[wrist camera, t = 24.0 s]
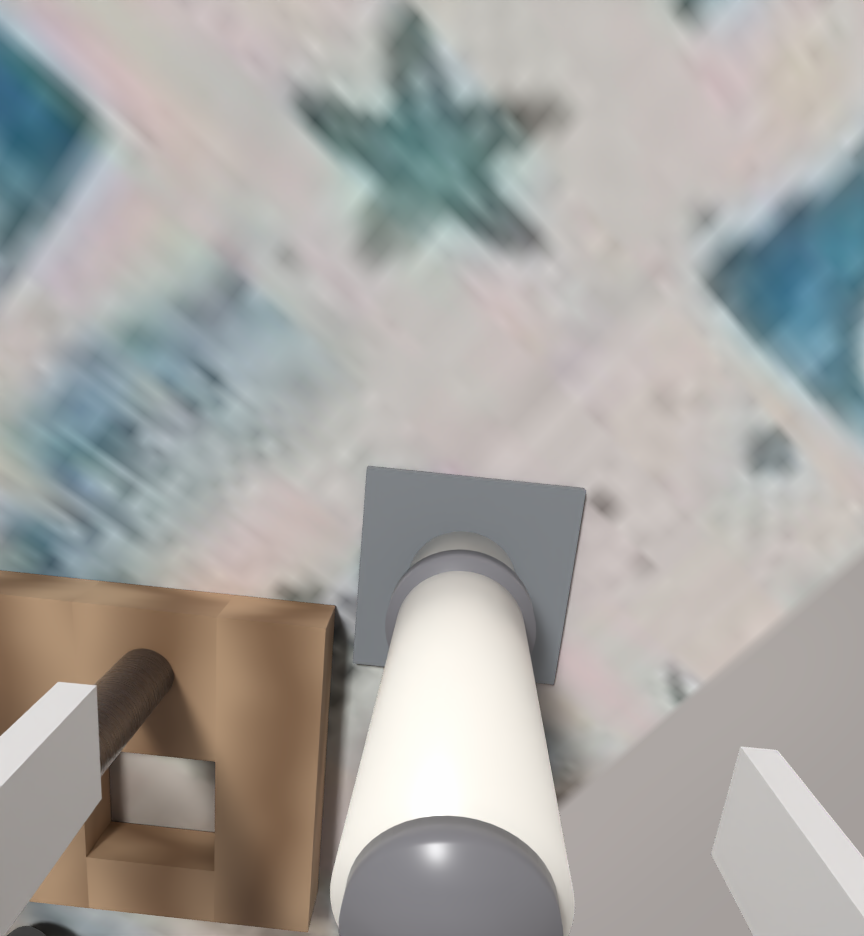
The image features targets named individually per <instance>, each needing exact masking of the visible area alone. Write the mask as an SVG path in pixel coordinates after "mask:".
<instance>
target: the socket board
mask: <svg viewBox="0 0 864 936" xmlns="http://www.w3.org/2000/svg"><path fill="white" fill-rule="evenodd" d="M334 620H335V606H334V605H324V604H315V603H305V602H296V601H286V600H277V599H267V598H258V597H248V596H239V595H229V594H220V593H210V592H201V591H191V590H182V589H172V588H162V587H153V586H143V585H134V584H124V583H115V582H105V581H96V580H86V579H77V578H67V577H58V576H48V575H39V574H29V573H20V572H10V571H1V570H0V736H1V735H2V734H3V733H4V732H5V731H6V730H7V729H9V728H10V727H11V726H12V725H13V724H14V723H15V722H16V721H17V720H18V719H19V718H20V717H21V716H22V715H23V714H24V713H26V712H27V711H28V710H29V709H30V708H31V707H32V706H33V705H34V704H35V703H36V702H37V701H38V700H39V699H40V698H41V697H43V696H44V695H45V694H46V693H47V692H48V691H49V690H50V689H51V688H52V687H53V686H54V685H55V684H56V683H57V682H66V683H76V684H87V685H94V684H95V683H96V682H97V681H98V680H99V679H100V678H101V677H102V676H103V675H104V674H105V673H106V672H107V671H108V670H109V669H110V668H111V667H112V666H113V665H114V664H115V663H116V662H117V661H118V660H120V659H121V658H122V657H123V656H124V655H125V654H126V653H127V652H129V651H131V650H134V649H140V648H144V649H150V650H153V651H156V652H158V653H159V654H161V655H162V656H163V657H165V658H166V659H167V661H168V662H169V663H170V665H171V667H172V670H173V673H174V681H173V684H172V687H171V688H170V690H169V691H168V692H167V694H166V695H165V696H164V697H163V699H162V700H161V701H160V703H159V704H158V705H157V706H156V708H155V709H154V710H153V711H152V713H151V714H150V715H149V717H148V718H147V719H146V720H145V722H144V723H143V724H142V725H141V727H140V728H139V729H138V730H137V732H136V733H135V734H134V736H133V737H132V738H131V739H130V741H129V742H128V743H127V744H126V746H125V747H124V748H123V750H122V751H121V752H130V753H140V754H149V755H158V756H168V757H177V758H186V759H195V760H205V761H214V762H215V833H214V832H205V831H195V830H186V829H177V828H168V827H159V826H150V825H141V824H131V823H122V822H113V821H111V804H110V781H109V767H108V769H107V770H106V771H105V772H104V774H103V775H102V776H101V795H102V799H101V800H100V802H99V803H98V804H97V806H96V807H95V809H94V810H93V812H92V813H91V814H90V816H89V817H88V819H87V820H86V821H85V823H84V824H83V826H82V827H81V828H80V830H79V831H78V833H77V834H76V836H75V837H74V838H73V840H72V841H71V843H70V844H69V845H68V847H67V848H66V850H65V851H64V852H63V854H62V855H61V857H60V858H59V860H58V861H57V862H56V864H55V865H54V867H53V868H52V869H51V871H50V872H49V874H48V875H47V876H46V878H45V879H44V881H43V882H42V884H41V885H40V886H39V888H38V889H37V891H36V892H35V893H34V895H33V896H32V898H31V899H30V900H29V901H30V902H39V903H48V904H57V905H66V906H75V907H84V908H93V909H102V910H111V911H120V912H129V913H138V914H147V915H156V916H165V917H174V918H183V919H192V920H201V921H210V922H219V923H228V924H237V925H246V926H255V927H264V928H273V929H282V930H291V931H300V932H308V930H309V925H310V921H311V917H312V913H313V909H314V904H315V900H316V896H317V892H318V876H319V860H320V844H321V828H322V812H323V796H324V780H325V764H326V748H327V732H328V716H329V700H330V684H331V668H332V652H333V636H334Z"/></svg>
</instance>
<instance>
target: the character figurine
mask: <svg viewBox="0 0 864 936" xmlns="http://www.w3.org/2000/svg"><path fill="white" fill-rule="evenodd" d="M7 936H46V935H45V934H44V933H42V932H41V931H40V930H38V929H36V928H34V927H30V926H22V927H19V928H17V929H15V930H14V931H12V932H11V933H10V934H8V935H7Z"/></svg>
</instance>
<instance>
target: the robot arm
mask: <svg viewBox="0 0 864 936" xmlns="http://www.w3.org/2000/svg"><path fill="white" fill-rule="evenodd" d="M101 799H102V795H101V773H100V751H99V729H98V707H97V685H87V684H76V683H66V682H57V683H56V684H55V685H54V686H53V687H52V688H51V689H50V690H49V691H48V692H47V693H46V694H45V695H44V696H43V697H41V698H40V699H39V700H38V701H37V702H36V703H35V704H34V705H33V706H32V707H31V708H30V709H29V710H28V711H27V712H26V713H24V714H23V715H22V716H21V717H20V718H19V719H18V720H17V721H16V722H15V723H14V724H13V725H12V726H11V727H10V728H9V729H7V730H6V731H5V732H4V733H3V734H2V735H1V736H0V936H5V934H6V933H7V932H8V930H9V929H10V927H11V926H12V924H13V923H14V922H15V920H16V919H17V917H18V916H19V915H20V913H21V912H22V910H23V909H24V908H25V906H26V905H27V903H28V902H29V900H30V899H31V898H32V896H33V895H34V893H35V892H36V891H37V889H38V888H39V886H40V885H41V884H42V882H43V881H44V879H45V878H46V876H47V875H48V874H49V872H50V871H51V869H52V868H53V867H54V865H55V864H56V862H57V861H58V860H59V858H60V857H61V855H62V854H63V852H64V851H65V850H66V848H67V847H68V845H69V844H70V843H71V841H72V840H73V838H74V837H75V836H76V834H77V833H78V831H79V830H80V828H81V827H82V826H83V824H84V823H85V821H86V820H87V819H88V817H89V816H90V814H91V813H92V812H93V810H94V809H95V807H96V806H97V804H98V803H99V802H100V800H101ZM711 856H712V857H713V860H714V862H715V864H716V865H717V867H718V869H719V871H720V873H721V875H722V877H723V879H724V881H725V883H726V884H727V887H728V889H729V890H730V892H731V894H732V896H733V898H734V900H735V902H736V904H737V906H738V908H739V910H740V912H741V914H742V916H743V918H744V920H745V921H746V923H747V925H748V927H749V929H750V931H751V933H752V935H753V936H864V858H863V856H862V855H861V854H860V852H859V851H858V850H857V849H856V848H855V846H854V845H853V844H852V842H851V841H850V840H849V839H848V838H847V836H846V835H845V834H844V833H843V831H842V830H841V829H840V827H839V826H838V825H837V824H836V823H835V821H833V819H832V818H831V816H830V815H829V814H828V813H827V811H826V810H825V809H824V808H823V806H822V805H821V804H820V803H819V801H818V800H817V799H816V798H815V797H814V795H813V794H812V793H811V791H810V790H809V789H808V788H807V787H806V785H805V784H804V783H803V781H802V780H801V779H800V778H799V776H798V775H797V774H796V773H795V771H794V770H793V769H792V768H791V766H790V765H789V764H788V763H787V761H786V760H785V759H784V758H783V756H782V755H781V754H780V753H779V751H778V750H771V749H760V748H749V747H740V751H739V755H738V758H737V761H736V765H735V769H734V772H733V776H732V780H731V783H730V787H729V791H728V794H727V798H726V802H725V805H724V808H723V812H722V816H721V819H720V823H719V827H718V830H717V834H716V837H715V841H714V845H713V849H712V852H711Z"/></svg>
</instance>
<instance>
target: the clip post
mask: <svg viewBox="0 0 864 936" xmlns="http://www.w3.org/2000/svg"><path fill="white" fill-rule="evenodd" d="M173 681H174V673H173V670H172V667H171V665H170V663H169V662H168V661H167V659H166V658H165V657H163V656H162V655H161V654H159V653H158V652H156V651H153V650H150V649H144V648H140V649H134V650H131V651H129V652H127V653H126V654H125V655H124V656H123V657H122V658H121V659H120V660H118V661H117V662H116V663H115V664H114V665H113V666H112V667H111V668H110V669H109V670H108V671H107V672H106V673H105V674H104V675H103V676H102V677H101V678H100V679H99V680H98V681H97V682H96V683H95V684H94V685H97V707H98V729H99V751H100V773H101V776H102V775H103V774H104V772H105V771H106V770H107V769H108V767H109V766H110V765H111V763H112V762H113V761H114V760H115V758H116V757H117V756H118V755H119V753H120V752H121V751H122V750H123V748H124V747H125V746H126V744H127V743H128V742H129V741H130V739H131V738H132V737H133V736H134V734H135V733H136V732H137V730H138V729H139V728H140V727H141V725H142V724H143V723H144V722H145V720H146V719H147V718H148V717H149V715H150V714H151V713H152V711H153V710H154V709H155V708H156V706H157V705H158V704H159V703H160V701H161V700H162V699H163V697H164V696H165V695H166V694H167V692H168V691H169V690H170V688H171V687H172V684H173Z"/></svg>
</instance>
